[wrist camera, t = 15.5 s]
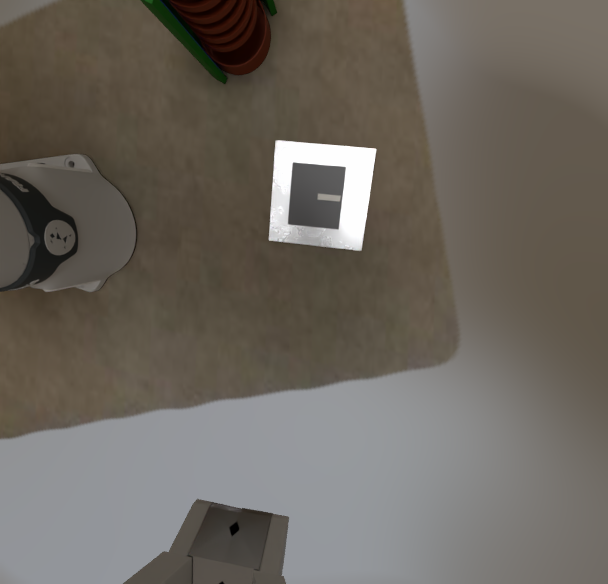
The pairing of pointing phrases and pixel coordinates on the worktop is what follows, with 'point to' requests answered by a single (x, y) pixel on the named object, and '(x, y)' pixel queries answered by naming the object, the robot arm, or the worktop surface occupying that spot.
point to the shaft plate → (353, 199)
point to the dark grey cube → (316, 195)
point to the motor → (219, 31)
